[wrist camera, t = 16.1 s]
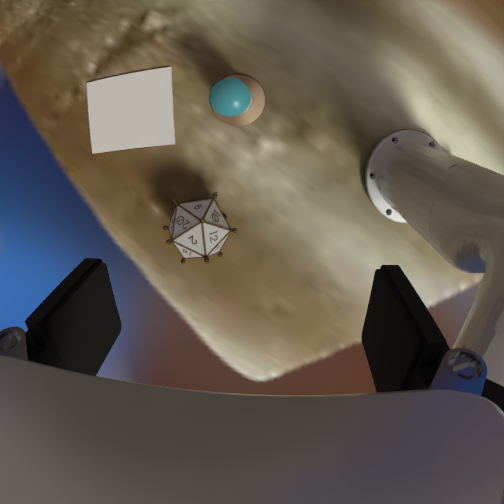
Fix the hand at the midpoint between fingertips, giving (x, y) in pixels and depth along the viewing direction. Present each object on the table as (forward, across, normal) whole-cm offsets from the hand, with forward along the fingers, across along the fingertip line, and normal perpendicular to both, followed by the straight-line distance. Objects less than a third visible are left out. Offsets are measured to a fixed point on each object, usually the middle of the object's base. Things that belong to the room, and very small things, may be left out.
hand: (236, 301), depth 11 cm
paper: (+30, +17, -7) cm, 35 cm away
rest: (+31, +3, -7) cm, 32 cm away
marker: (+30, +3, -7) cm, 31 cm away
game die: (+31, +8, +8) cm, 33 cm away
